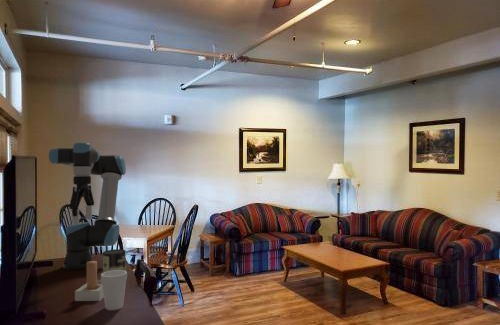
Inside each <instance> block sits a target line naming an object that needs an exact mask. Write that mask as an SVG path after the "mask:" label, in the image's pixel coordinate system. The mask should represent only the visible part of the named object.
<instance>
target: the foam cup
mask: <svg viewBox="0 0 500 325" xmlns="http://www.w3.org/2000/svg"><path fill="white" fill-rule="evenodd" d="M100 279H101V282H102V288H103V295H104V298H103V301H104V307H105V310H107V311H116V310H120V309H122V308H123V307H124V303H125V302H124V301H125V293H126V284H127V279H128V272H127V270H126V271H124V270H112V271H107V272H104V273H103V272H102V273H101V274H100Z"/></svg>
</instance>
